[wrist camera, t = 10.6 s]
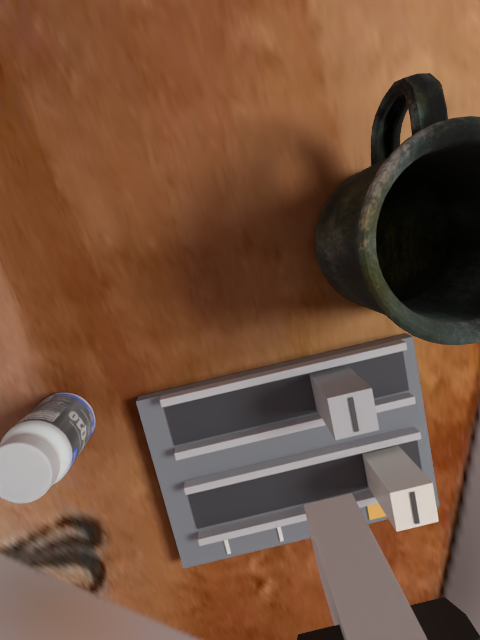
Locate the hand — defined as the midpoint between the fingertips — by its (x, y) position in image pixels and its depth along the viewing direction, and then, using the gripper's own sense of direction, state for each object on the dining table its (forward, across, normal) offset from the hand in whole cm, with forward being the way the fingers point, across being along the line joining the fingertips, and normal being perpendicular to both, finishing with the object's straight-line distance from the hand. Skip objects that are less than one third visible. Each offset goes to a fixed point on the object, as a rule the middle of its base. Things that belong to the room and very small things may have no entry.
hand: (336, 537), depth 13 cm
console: (+21, 0, -9) cm, 23 cm away
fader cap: (+20, +7, -11) cm, 24 cm away
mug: (+22, +11, +8) cm, 26 cm away
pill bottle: (+21, -16, -2) cm, 27 cm away
